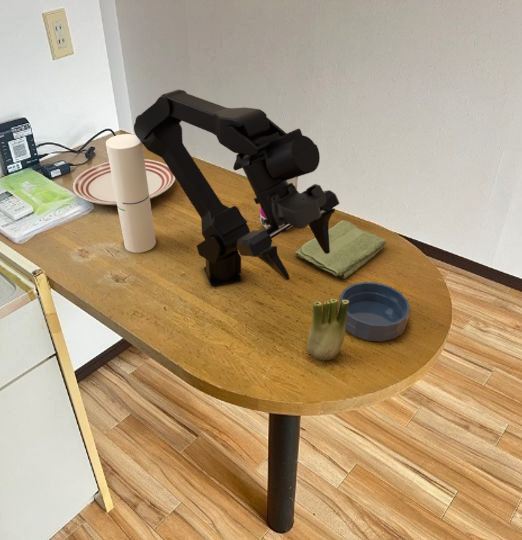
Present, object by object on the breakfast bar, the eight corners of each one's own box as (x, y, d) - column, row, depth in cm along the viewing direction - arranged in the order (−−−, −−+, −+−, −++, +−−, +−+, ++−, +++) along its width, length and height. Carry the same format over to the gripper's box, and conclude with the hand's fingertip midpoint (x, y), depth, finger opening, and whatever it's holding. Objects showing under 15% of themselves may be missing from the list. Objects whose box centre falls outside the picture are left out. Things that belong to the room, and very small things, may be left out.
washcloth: (291, 257, 112) (292, 245, 110) (341, 227, 122) (343, 215, 120) (340, 284, 104) (342, 271, 102) (389, 249, 114) (392, 237, 112)
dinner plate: (65, 179, 146) (62, 168, 144) (156, 159, 155) (155, 149, 153) (88, 225, 126) (86, 213, 124) (192, 199, 135) (191, 187, 133)
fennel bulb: (342, 349, 90) (351, 296, 83) (337, 368, 86) (346, 315, 79) (310, 341, 92) (315, 288, 85) (303, 360, 88) (309, 307, 81)
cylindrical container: (149, 254, 115) (133, 150, 100) (119, 250, 116) (99, 147, 101) (159, 236, 120) (146, 135, 105) (131, 233, 122) (114, 133, 107)
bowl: (356, 348, 90) (359, 331, 88) (327, 304, 99) (329, 288, 97) (418, 334, 92) (423, 318, 90) (384, 293, 102) (387, 277, 99)
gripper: (246, 208, 76) (290, 298, 79) (340, 153, 81) (377, 240, 85) (217, 212, 86) (257, 292, 90) (302, 163, 92) (337, 240, 95)
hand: (307, 266), depth 90 cm, fingers open, 9 cm apart
